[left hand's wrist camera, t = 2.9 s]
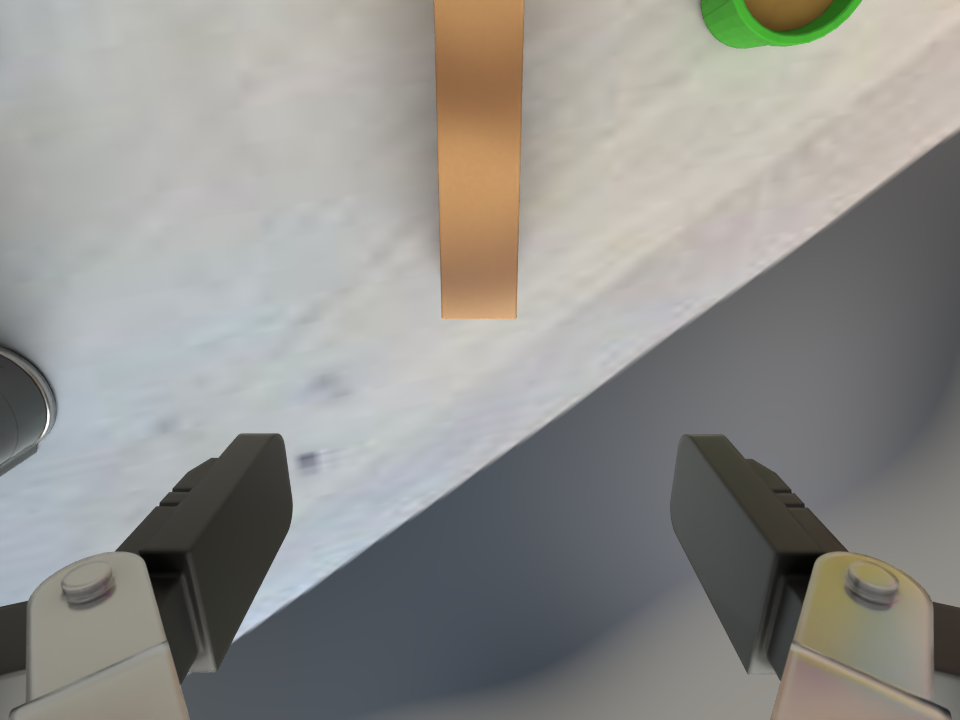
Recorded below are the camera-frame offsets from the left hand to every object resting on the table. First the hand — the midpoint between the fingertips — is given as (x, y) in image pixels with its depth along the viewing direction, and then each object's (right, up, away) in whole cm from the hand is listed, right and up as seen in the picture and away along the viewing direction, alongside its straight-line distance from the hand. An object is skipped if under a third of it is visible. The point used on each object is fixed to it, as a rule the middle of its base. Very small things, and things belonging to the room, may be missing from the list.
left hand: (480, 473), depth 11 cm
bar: (0, +20, +26) cm, 33 cm away
